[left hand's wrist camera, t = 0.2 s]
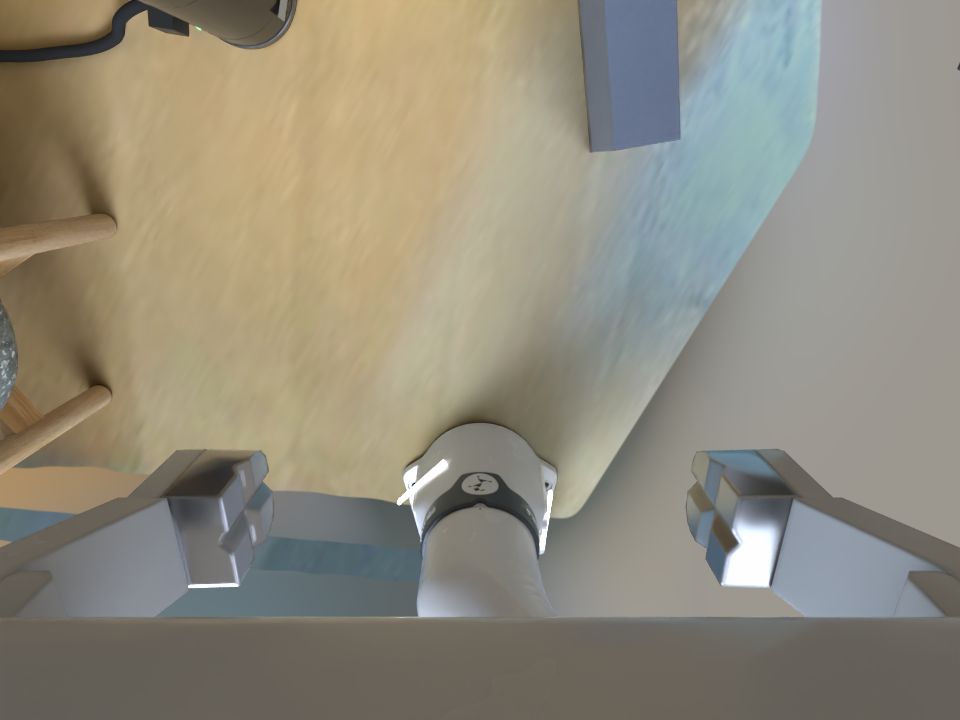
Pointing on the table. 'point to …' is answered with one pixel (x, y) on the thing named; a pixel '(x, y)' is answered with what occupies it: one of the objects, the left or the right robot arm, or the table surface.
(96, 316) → the table surface
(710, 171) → the table surface
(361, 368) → the table surface
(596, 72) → the cabinet
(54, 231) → the planter
